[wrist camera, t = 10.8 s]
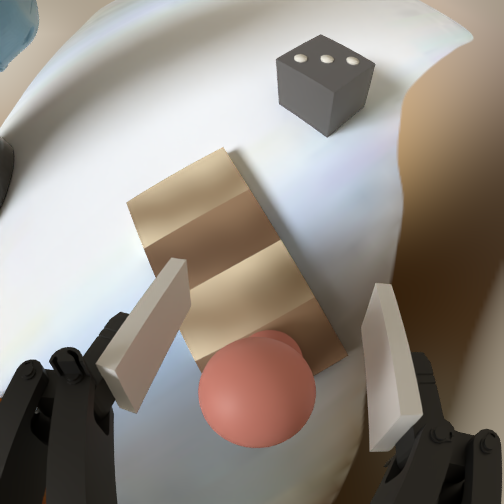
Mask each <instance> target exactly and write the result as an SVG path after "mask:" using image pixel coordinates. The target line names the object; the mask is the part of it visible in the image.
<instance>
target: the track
mask: <svg viewBox="0 0 504 504" xmlns="http://www.w3.org/2000/svg"><path fill="white" fill-rule="evenodd" d="M127 205H128V208H129V211H130V214H131V217H132V219H133V222H134V225H135V227H136V230H137V232H138V235H139V238H140V240H141V243H142V245H143V248H144V250H145V253H146V255H147V258H148V260H149V263H150V265H151V267H152V270H153V272H154V275H155V277H157V276H158V275H159V273H160V272H161V271H162V269H163V268H164V267H165V265H166V264H167V263H168V261H169V260H170V259H171V258H178V259H185V260H186V261H187V271H188V280H189V289H190V298H191V308H190V309H189V311H188V313H187V315H186V317H185V319H184V321H183V323H182V325H181V327H180V329H179V330H180V332H181V334H182V336H183V338H184V340H185V342H186V344H187V346H188V348H189V350H190V352H191V354H192V356H193V358H194V360H195V362H196V364H197V365H198V367H199V369H200V371H201V373H203V370H204V368H205V366H206V364H207V363H208V361H209V360H210V359H211V357H212V356H213V355H214V354H215V353H216V352H218V351H219V350H220V349H221V348H223V347H224V346H226V345H228V344H229V343H232V342H234V341H236V340H239V339H243V338H248V337H249V336H251V335H253V334H255V333H257V332H260V331H264V330H276V331H280V332H283V333H285V334H287V335H288V336H290V337H291V338H292V339H293V340H294V341H295V342H296V343H297V344H298V346H299V348H300V350H301V352H302V356H303V358H304V359H305V361H306V362H307V364H308V365H309V367H310V369H311V371H312V374H313V376H314V375H316V374H318V373H319V372H321V371H323V370H325V369H326V368H328V367H330V366H331V365H333V364H335V363H336V362H338V361H340V360H341V359H343V358H345V357H346V356H348V354H347V352H346V351H345V349H344V347H343V345H342V343H341V342H340V340H339V338H338V336H337V335H336V333H335V331H334V329H333V328H332V326H331V324H330V322H329V321H328V319H327V317H326V315H325V314H324V312H323V310H322V308H321V307H320V305H319V303H318V301H317V300H316V298H315V296H314V295H313V293H312V291H311V289H310V288H309V286H308V284H307V283H306V281H305V279H304V278H303V276H302V274H301V272H300V271H299V269H298V267H297V266H296V264H295V262H294V261H293V259H292V257H291V256H290V254H289V252H288V251H287V249H286V247H285V246H284V244H283V242H282V241H281V239H280V237H279V236H278V234H277V232H276V231H275V229H274V227H273V226H272V224H271V223H270V221H269V219H268V218H267V216H266V214H265V213H264V211H263V210H262V208H261V206H260V205H259V203H258V201H257V200H256V198H255V197H254V195H253V193H252V192H251V190H250V189H249V187H248V185H247V184H246V182H245V181H244V179H243V177H242V176H241V174H240V173H239V171H238V170H237V168H236V166H235V165H234V163H233V162H232V160H231V159H230V157H229V155H228V154H227V152H226V151H225V149H224V148H221V149H219V150H217V151H215V152H213V153H211V154H209V155H207V156H205V157H204V158H202V159H200V160H198V161H196V162H194V163H192V164H191V165H189V166H187V167H185V168H183V169H182V170H180V171H178V172H176V173H175V174H173V175H171V176H169V177H168V178H166V179H164V180H163V181H161V182H159V183H157V184H156V185H154V186H152V187H151V188H149V189H147V190H146V191H144V192H143V193H141V194H139V195H138V196H136V197H134V198H133V199H131V200H130V201H128V202H127Z"/></svg>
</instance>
